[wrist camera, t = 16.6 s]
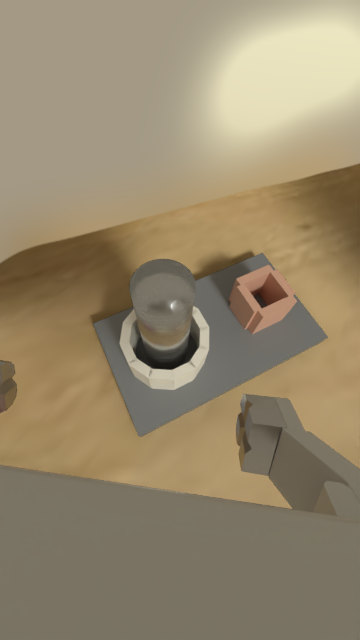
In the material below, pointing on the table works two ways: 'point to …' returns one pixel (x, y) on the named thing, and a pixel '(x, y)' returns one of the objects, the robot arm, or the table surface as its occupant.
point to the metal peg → (163, 310)
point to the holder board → (211, 342)
